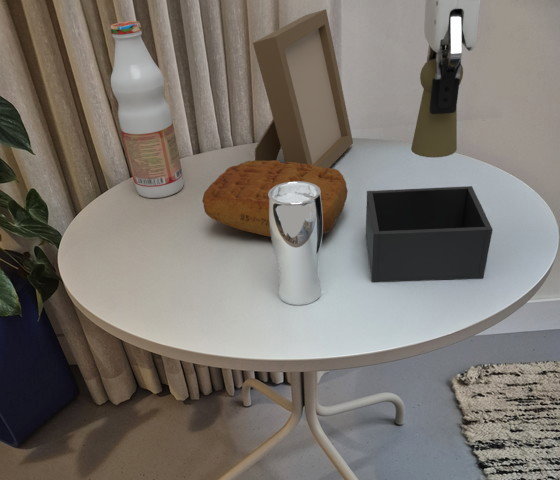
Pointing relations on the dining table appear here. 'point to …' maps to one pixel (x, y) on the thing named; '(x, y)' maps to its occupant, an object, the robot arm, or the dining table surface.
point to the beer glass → (297, 239)
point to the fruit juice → (144, 115)
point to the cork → (434, 121)
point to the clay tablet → (256, 185)
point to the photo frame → (303, 94)
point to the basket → (426, 234)
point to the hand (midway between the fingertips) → (438, 103)
